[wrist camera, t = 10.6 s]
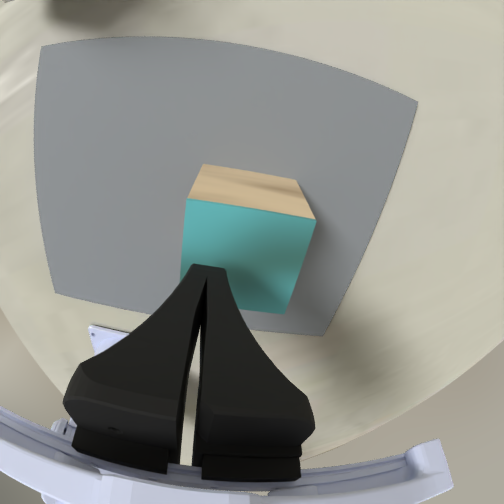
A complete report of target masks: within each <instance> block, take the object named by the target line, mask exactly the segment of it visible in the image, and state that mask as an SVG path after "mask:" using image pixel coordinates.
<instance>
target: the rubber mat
mask: <svg viewBox="0 0 504 504" xmlns="http://www.w3.org/2000/svg"><path fill="white" fill-rule="evenodd" d="M417 104H418V102H417V101H415V100H413V99H411V98H409V97H407V96H405V95H403V94H401V93H399V92H396V91H394V90H392V89H390V88H387V87H385V86H383V85H380V84H378V83H376V82H373V81H371V80H368V79H365V78H363V77H360V76H358V75H355V74H352V73H349V72H346V71H344V70H341V69H338V68H335V67H332V66H328V65H325V64H322V63H319V62H315V61H312V60H308V59H305V58H301V57H297V56H293V55H289V54H285V53H281V52H277V51H272V50H267V49H263V48H257V47H252V46H247V45H241V44H234V43H228V42H220V41H212V40H203V39H192V38H177V37H112V38H98V39H88V40H79V41H71V42H64V43H58V44H52V45H46V46H41V52H40V58H39V65H38V73H37V82H36V94H35V110H34V162H35V179H36V190H37V200H38V208H39V216H40V223H41V229H42V235H43V241H44V246H45V251H46V256H47V261H48V266H49V270H50V274H51V278H52V282H53V286H54V290H55V293H57V294H61V295H65V296H69V297H73V298H77V299H81V300H85V301H89V302H94V303H98V304H102V305H107V306H111V307H116V308H121V309H126V310H131V311H136V312H141V313H146V314H151V315H152V314H153V313H154V312H155V311H156V310H157V309H158V308H159V307H160V306H161V305H162V304H163V303H164V301H165V300H166V299H167V298H168V297H169V296H170V295H171V293H172V292H173V291H174V290H175V288H176V287H177V286H178V284H179V283H180V269H181V254H182V241H183V229H184V218H185V208H186V200H187V197H188V195H189V193H190V191H191V189H192V186H193V184H194V182H195V180H196V178H197V176H198V174H199V171H200V169H201V167H202V165H203V164H208V165H215V166H221V167H228V168H234V169H240V170H246V171H252V172H257V173H263V174H268V175H273V176H279V177H284V178H289V179H294V180H296V181H297V183H298V185H299V187H300V189H301V191H302V193H303V195H304V197H305V199H306V201H307V203H308V205H309V207H310V209H311V211H312V213H313V215H314V217H315V219H316V221H317V222H316V225H315V228H314V231H313V234H312V237H311V240H310V243H309V246H308V249H307V252H306V255H305V258H304V261H303V264H302V267H301V269H300V272H299V275H298V278H297V281H296V284H295V286H294V289H293V292H292V295H291V297H290V300H289V303H288V306H287V308H286V311H285V314H276V313H266V312H258V311H249V310H241V309H239V311H240V313H241V315H242V317H243V319H244V321H245V323H246V325H247V327H248V328H249V329H251V330H259V331H268V332H278V333H289V334H300V335H313V336H323V335H324V333H325V331H326V329H327V327H328V326H329V324H330V322H331V320H332V318H333V316H334V314H335V312H336V310H337V308H338V306H339V304H340V302H341V300H342V298H343V296H344V294H345V292H346V290H347V288H348V286H349V284H350V282H351V280H352V278H353V276H354V274H355V271H356V269H357V267H358V265H359V263H360V261H361V258H362V256H363V254H364V252H365V249H366V247H367V245H368V243H369V240H370V238H371V236H372V233H373V231H374V228H375V226H376V224H377V221H378V219H379V216H380V214H381V211H382V209H383V206H384V204H385V201H386V198H387V196H388V193H389V191H390V188H391V185H392V182H393V180H394V177H395V174H396V171H397V168H398V166H399V163H400V160H401V157H402V154H403V151H404V148H405V145H406V141H407V138H408V135H409V132H410V129H411V125H412V122H413V118H414V115H415V111H416V108H417Z"/></svg>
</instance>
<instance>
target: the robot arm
mask: <svg viewBox="0 0 504 504" xmlns="http://www.w3.org/2000/svg"><path fill="white" fill-rule="evenodd" d="M200 325H201V328H200ZM199 330H200V376H199V388H198V398H197V409H196V419H195V430H194V442H193V454H192V466H187V465H180V455H181V443H182V432H183V421H184V412H185V402H186V394H187V385H188V378H189V372H190V367H191V363H192V359H193V354H194V350H195V346H196V342H197V338H198V334H199ZM88 331H89V335H90V338H91V342H92V345H93V348H94V352H95V355H94V357H92V358H90V359H88V360H86V361H84V362H82V363H80V364H79V366H78V368H77V369H76V371H75V373H74V375H73V376H72V378H71V380H70V382H69V385H68V387H67V390H66V393H65V396H64V399H63V405H64V407H65V409H66V411H67V412H68V414H69V415H70V417H71V418H70V421H69V424H68V420H67V419H64V418H61V419H60V420H56V421H55V422H54V423H53V425H52V427H51V430H50V429H48V428H46V427H43V426H41V425H39V424H36V423H34V422H32V421H30V420H28V419H25V418H23V417H21V416H19V415H17V414H15V413H13V412H11V411H9V410H7V409H6V408H4V407H2V406H0V471H2V472H3V473H5V474H7V475H8V476H10V477H12V478H14V479H15V480H17V481H19V482H21V483H23V484H25V485H27V486H29V487H30V488H32V489H34V490H37V491H38V492H41V497H42V499H43V501H44V502H45V503H46V504H418V503H420V502H423V501H425V500H428V499H430V498H432V497H435V496H437V495H439V494H441V493H443V492H445V491H447V490H450V489H452V488H453V486H454V485H453V481H452V478H451V474H450V471H449V467H448V464H447V461H446V458H445V454H444V451H443V448H442V445H441V442H440V440H439V439H434V440H430V441H427V442H424V443H420V444H418V445H416V446H413V447H412V448H410V449H409V450H407V451H406V452H405V453H403V454H399V455H395V456H390V457H386V458H382V459H376V460H372V461H366V462H360V463H354V464H347V465H340V466H332V467H323V468H313V469H300V460H299V457H301V456H302V448H301V444H302V443H303V442H304V441H305V440H306V439H307V438H308V437H309V436H310V435H311V434H312V433H313V431H314V430H315V421H314V416H313V412H312V409H311V406H310V403H309V400H308V397H307V396H306V395H305V394H304V393H303V392H301V391H300V390H299V389H298V388H297V387H296V386H295V385H294V384H292V383H291V382H290V381H289V380H288V379H287V378H286V377H285V376H284V375H283V374H282V373H281V372H280V371H279V369H278V368H277V367H276V366H275V365H274V364H273V362H272V361H271V360H270V359H269V357H268V356H267V355H266V354H265V353H264V351H263V350H262V348H261V347H260V346H259V344H258V343H257V341H256V340H255V338H254V337H253V335H252V333H251V332H250V330H249V328H248V327H247V325H246V323H245V321H244V319H243V317H242V315H241V313H240V311H239V309H238V307H237V304H236V302H235V299H234V297H233V294H232V291H231V288H230V285H229V282H228V277H227V271H226V270H225V268H220V267H214V266H207V265H201V264H195V263H194V264H192V265H191V266H190V268H189V270H188V271H187V273H186V275H185V276H184V278H183V279H182V280H181V282H180V283H179V284H178V286H177V287H176V288H175V290H174V291H173V292H172V293H171V295H170V296H169V297H168V298H167V299H166V300H165V301H164V303H163V304H162V305H161V306H160V307H159V308H158V309H157V310H156V311H155V312H154V313H153V314H152V315H151V316H150V317H149V318H148V319H147V320H146V321H144V322H143V323H142V324H141V325H140V326H138V327H137V328H136V329H135V330H134V331H132V332H131V333H130V334H129V333H125V332H120V331H116V330H111V329H107V328H103V327H99V326H94V325H90V326H89V328H88ZM174 485H176V486H174ZM181 486H183V487H181ZM189 487H191V488H189ZM197 488H200V489H197ZM208 489H210V490H208ZM221 490H225V491H221ZM235 491H270V492H269V493H268V496H259V495H258V494H253V493H247V492H235Z"/></svg>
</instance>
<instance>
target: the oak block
mask: <svg viewBox="0 0 504 504" xmlns="http://www.w3.org/2000/svg"><path fill="white" fill-rule="evenodd" d="M316 222H317V221H316V219H315V217H314V215H313V213H312V211H311V209H310V207H309V205H308V203H307V201H306V199H305V197H304V195H303V193H302V191H301V189H300V187H299V185H298V183H297V181H296V180H294V179H289V178H284V177H279V176H273V175H268V174H263V173H257V172H252V171H246V170H240V169H234V168H228V167H221V166H215V165H208V164H203V165H202V167H201V169H200V171H199V174H198V176H197V178H196V180H195V182H194V184H193V186H192V189H191V191H190V193H189V195H188V197H187V200H186V208H185V218H184V229H183V241H182V254H181V269H180V282H181V280H182V279H183V278H184V276H185V275H186V273H187V271H188V270H189V268H190V266H191V265H192V264H194V263H195V264H201V265H207V266H214V267H220V268H225V270H226V271H227V277H228V282H229V285H230V288H231V291H232V294H233V297H234V299H235V302H236V304H237V307H238V309H241V310H249V311H258V312H266V313H276V314H285V311H286V308H287V306H288V303H289V300H290V297H291V295H292V292H293V289H294V286H295V284H296V281H297V278H298V275H299V272H300V269H301V267H302V264H303V261H304V258H305V255H306V252H307V249H308V246H309V243H310V240H311V237H312V234H313V231H314V228H315V225H316Z"/></svg>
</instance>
